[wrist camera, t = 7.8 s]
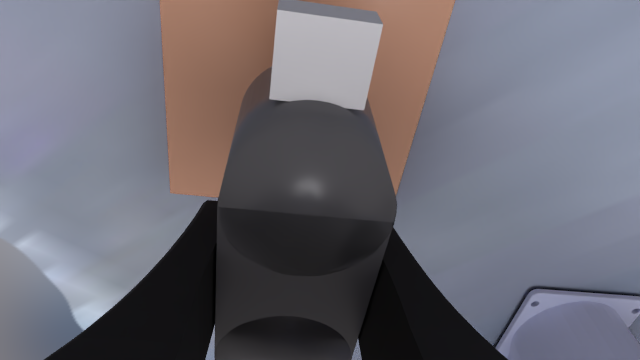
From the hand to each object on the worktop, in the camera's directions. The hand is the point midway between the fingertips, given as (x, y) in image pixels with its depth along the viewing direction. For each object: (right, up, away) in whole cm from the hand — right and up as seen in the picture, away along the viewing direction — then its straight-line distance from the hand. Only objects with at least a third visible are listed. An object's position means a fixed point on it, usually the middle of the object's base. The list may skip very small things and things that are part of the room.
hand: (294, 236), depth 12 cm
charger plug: (0, +1, +1) cm, 2 cm away
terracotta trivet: (0, +5, +8) cm, 9 cm away
